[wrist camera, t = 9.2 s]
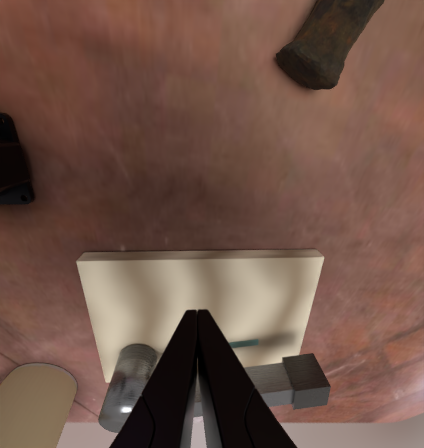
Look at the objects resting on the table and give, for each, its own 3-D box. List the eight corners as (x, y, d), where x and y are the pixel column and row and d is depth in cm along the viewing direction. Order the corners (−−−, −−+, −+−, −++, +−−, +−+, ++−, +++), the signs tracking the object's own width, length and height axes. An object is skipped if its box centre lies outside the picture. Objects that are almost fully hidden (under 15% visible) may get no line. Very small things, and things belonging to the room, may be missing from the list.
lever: (123, 372, 24) (104, 440, 19) (114, 347, 23) (90, 413, 18) (297, 350, 25) (325, 409, 20) (300, 324, 24) (331, 381, 18)
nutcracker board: (110, 369, 27) (95, 413, 22) (84, 252, 20) (56, 283, 16) (289, 359, 28) (305, 398, 24) (316, 249, 22) (344, 277, 18)
